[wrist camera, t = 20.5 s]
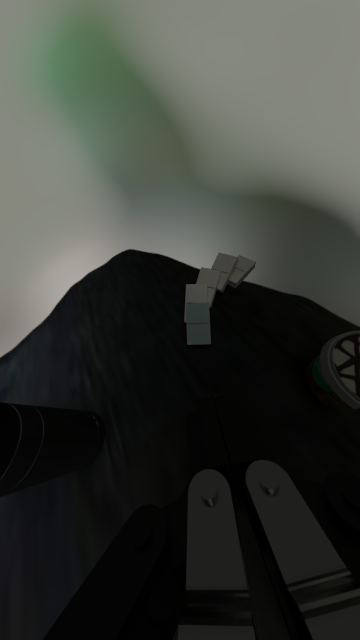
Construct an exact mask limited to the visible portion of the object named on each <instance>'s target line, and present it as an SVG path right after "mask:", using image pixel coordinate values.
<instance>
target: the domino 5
mask: <svg viewBox="0 0 360 640" xmlns="http://www.w3.org/2000/svg"><path fill="white" fill-rule="evenodd" d="M237 258H238V263H237V265H236V267H235V269H234V271H233V273H232V275H231V277H230V279H229V281H228V283H227V284H228V285H230V286H232V287H234V288H236V287H237V286H238V285H239V284H240V283H241V282H242V281H243V280H244V279H245V278H246V276H247V275H248V274H249V273H250V272H251V271H252V270H253V269H254V267H255V264H256V262H255V261H252V260H249V259H247V258H245V257H242V256H238V257H237Z"/></svg>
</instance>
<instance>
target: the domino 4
mask: <svg viewBox="0 0 360 640" xmlns="http://www.w3.org/2000/svg"><path fill="white" fill-rule="evenodd" d="M237 263H238V258H237V257H234V256H230V255H226V254H222V253H219V254H218V256H217V258H216V260H215V262H214V264H213V266H212V268H211V269H213V270H219V271H221V278H220V281H219V284H218V287H217V291H219V292H222V293H223V292H224V290H225V288H226V286H227V283H228V281H229V279H230V277H231V275H232V273H233V271H234V269H235V267H236V265H237Z"/></svg>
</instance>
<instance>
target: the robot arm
mask: <svg viewBox="0 0 360 640" xmlns="http://www.w3.org/2000/svg"><path fill="white" fill-rule="evenodd" d="M212 396H213V400H212ZM212 396H205V397H200V398H198V400H199V407H200V408H199V409H194V410H190V413H189V415H188V417H187V428H188V447H189V467H190V477H189V482H188V485H187V487H186V489H185V491H184V492H183V493H182V495H181V496H180V497H179V498H178V499H176V500H175V501H174V502H172V503H170V504H169V505H167V506H165V507H164V508H162V509H161V510H160V508H158V507H157V506H155V505H151V504H149V505H144V506H142V507H140V508H138V509H137V510H136V511H135V512H134V513H133V514H132V515H131V516H130V517H129V519H128V520H127V521H126V523H125V524H124V526H123V527H122V529H121V530H120V531H119V533H118V534H117V536H116V537H115V538H114V540H113V541H112V543H111V544H110V545H109V547H108V548H107V550H106V551H105V553H104V554H103V555H102V557H101V558H100V560H99V561H98V562H97V564H96V565H95V567H94V568H93V569H92V571H91V572H90V574H89V575H88V576H87V578H86V579H85V581H84V582H83V584H82V585H81V586H80V588H79V589H78V591H77V592H76V593H75V595H74V596H73V598H72V599H71V600H70V602H69V603H68V605H67V606H66V608H65V609H64V610H63V612H62V613H61V615H60V616H59V617H58V619H57V620H56V622H55V623H54V624H53V626H52V627H51V629H50V630H49V632H48V633H47V634H46V636H45V637H44V639H43V640H172V639H173V636H174V634H175V631H176V628H177V626H178V623H179V630H178V640H259V637H258V632H257V626H256V621H255V615H254V610H253V604H252V599H251V593H250V588H249V582H248V577H247V571H246V566H245V560H244V555H243V549H242V544H241V539H240V534H239V530H238V525H237V520H236V515H235V513H237V512H239V507H238V502H237V498H238V501H239V505H240V509H241V512H245V511H247V512H248V515H249V519H250V522H251V526H252V529H253V533H254V535H255V538H256V540H257V543H258V547H259V549H260V552H261V555H262V558H263V561H264V564H265V567H266V570H267V573H268V575H269V578H270V581H271V584H272V587H273V590H274V593H275V596H276V598H277V601H278V604H279V607H280V610H281V613H282V616H283V619H284V622H285V624H286V627H287V630H288V633H289V636H290V639H291V640H360V478H358V477H356V476H353V475H351V474H347V473H342V472H335V473H331V474H329V475H328V476H327V477H326V478H325V480H324V484H321V483H316V482H311V481H305V480H301V479H297V478H295V477H292V476H291V475H289V474H287V473H286V472H285V471H284V470H283V469H282V468H281V467H280V466H278V465H277V464H276V463H275V462H274V460H273V459H272V457H271V455H270V453H269V451H268V449H267V447H266V445H265V443H264V441H263V439H262V437H261V435H260V434H259V432H258V430H257V428H256V426H255V424H254V422H253V420H252V418H251V416H250V414H249V412H248V410H247V408H246V407H245V406H244V405H242V404H241V403H240V402H239V401H236V402H231V403H230V402H229V399H228V397H227V394H226V393H221V394H216V395H212ZM213 401H214V404H213ZM214 406H215V407H214ZM103 441H104V424H103V422H102V419H101V418H100V417H99V416H98V415H97V414H96V413H94V412H90V411H81V410H72V409H62V408H53V407H43V406H33V405H22V404H12V403H2V402H0V497H3V496H6V495H9V494H11V493H14V492H17V491H20V490H23V489H26V488H29V487H31V486H34V485H37V484H40V483H43V482H46V481H49V480H51V479H54V478H57V477H60V476H63V475H66V474H69V473H72V472H75V471H77V470H80V469H83V468H85V467H86V466H88V465H89V464H90V463H91V462H92V461H93V460H94V459H95V458H96V456H97V455H98V453H99V451H100V449H101V447H102V444H103ZM234 486H235V487H234ZM235 490H236V492H235ZM236 494H237V497H236Z"/></svg>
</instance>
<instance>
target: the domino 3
mask: <svg viewBox="0 0 360 640" xmlns="http://www.w3.org/2000/svg"><path fill="white" fill-rule="evenodd" d="M186 318H187V345H198V344H211V335H210V314H209V302H206V303H189V304H186Z"/></svg>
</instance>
